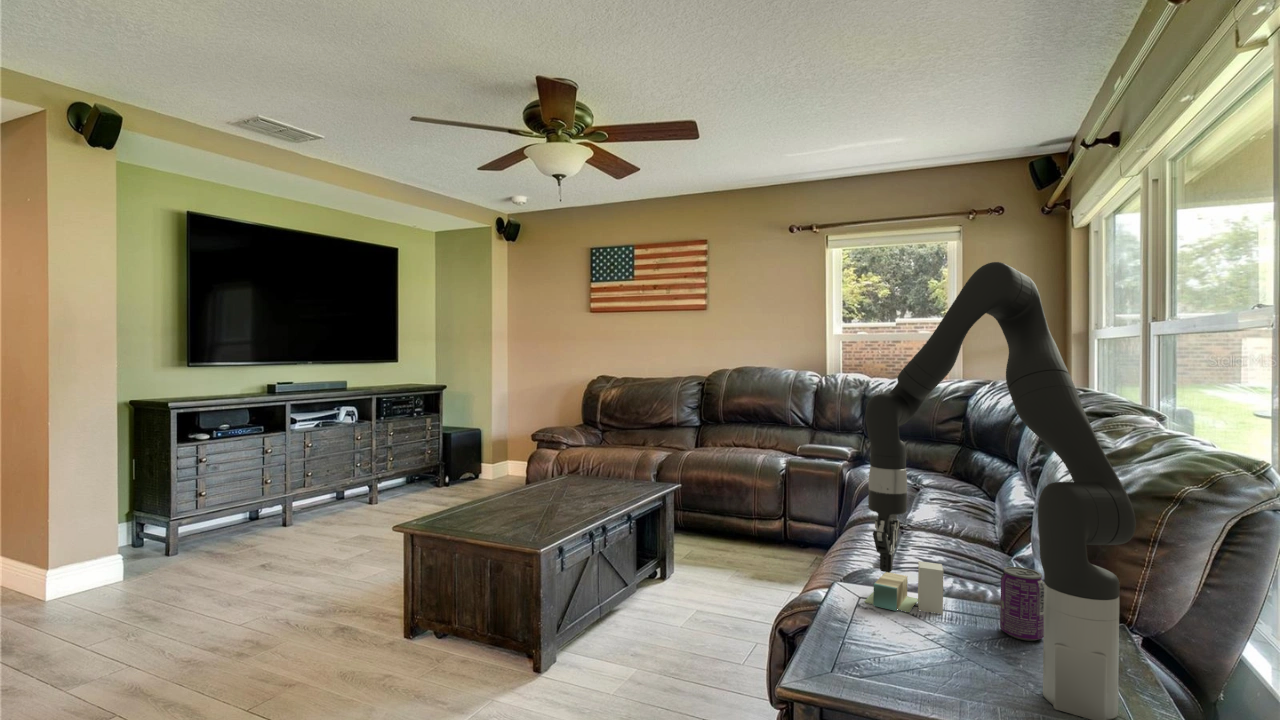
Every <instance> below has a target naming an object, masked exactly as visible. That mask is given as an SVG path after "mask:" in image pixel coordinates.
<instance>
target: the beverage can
mask: <svg viewBox="0 0 1280 720" xmlns="http://www.w3.org/2000/svg"><path fill="white" fill-rule="evenodd" d="M1042 578H1043V576H1042V573H1041V572H1039V571H1037V570H1034V569H1031V568H1026V567H1020V566H1005V567H1004V568H1003V573H1002V575H1001V577H1000V599H999V600H1000V602H999V603H1000V605H999V606H1000V607H999V608H1000V609H999V611H1000V612H999V624H1000V625H999V627H1000V629H1001V631H1002V632H1004V633H1005V634H1007V635H1008V636H1010V637H1011V638H1015V639H1017V640H1021V641H1027V642H1028V641H1031V642H1034V641H1037V640H1041V639H1044V580H1043V579H1042Z"/></svg>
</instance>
